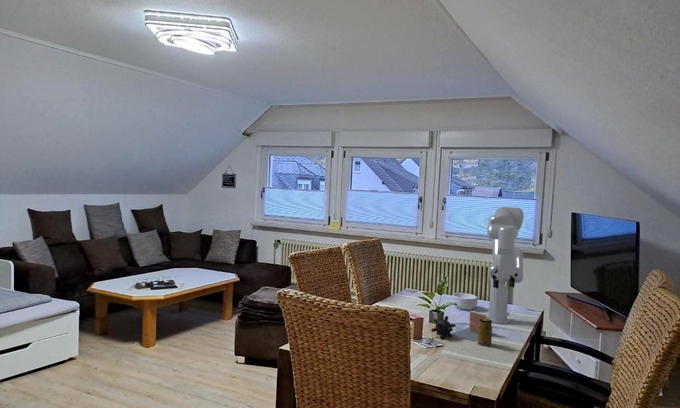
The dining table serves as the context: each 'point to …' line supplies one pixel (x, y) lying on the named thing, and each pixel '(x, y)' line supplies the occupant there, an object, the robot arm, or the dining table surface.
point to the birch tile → (475, 321)
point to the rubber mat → (467, 335)
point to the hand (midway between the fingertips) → (503, 287)
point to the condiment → (485, 332)
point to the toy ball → (443, 327)
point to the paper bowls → (464, 301)
